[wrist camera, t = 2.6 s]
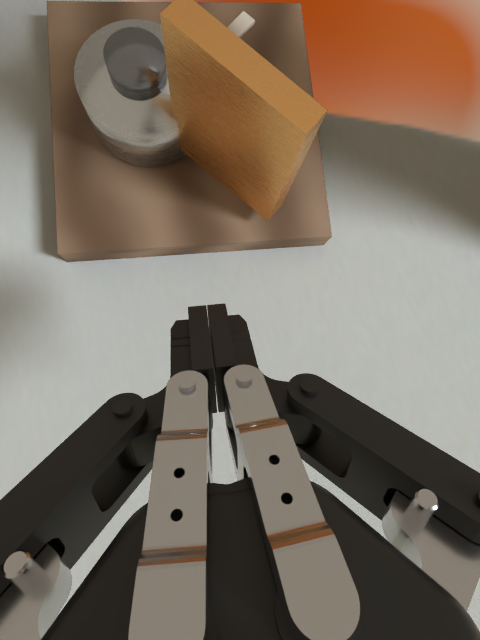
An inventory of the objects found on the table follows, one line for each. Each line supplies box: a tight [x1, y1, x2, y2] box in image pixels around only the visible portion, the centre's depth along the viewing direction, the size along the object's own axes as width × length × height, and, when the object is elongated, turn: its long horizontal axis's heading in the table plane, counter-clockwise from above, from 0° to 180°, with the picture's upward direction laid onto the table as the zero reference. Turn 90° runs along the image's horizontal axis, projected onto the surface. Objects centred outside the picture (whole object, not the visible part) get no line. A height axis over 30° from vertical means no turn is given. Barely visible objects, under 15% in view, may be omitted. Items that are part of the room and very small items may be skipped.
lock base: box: [47, 1, 332, 262], centre depth 29 cm, size 20×20×2 cm
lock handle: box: [74, 0, 327, 221], centre depth 22 cm, size 16×8×11 cm, turn 51°
